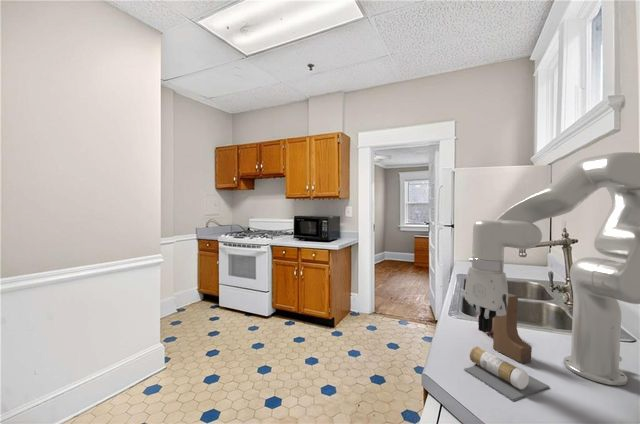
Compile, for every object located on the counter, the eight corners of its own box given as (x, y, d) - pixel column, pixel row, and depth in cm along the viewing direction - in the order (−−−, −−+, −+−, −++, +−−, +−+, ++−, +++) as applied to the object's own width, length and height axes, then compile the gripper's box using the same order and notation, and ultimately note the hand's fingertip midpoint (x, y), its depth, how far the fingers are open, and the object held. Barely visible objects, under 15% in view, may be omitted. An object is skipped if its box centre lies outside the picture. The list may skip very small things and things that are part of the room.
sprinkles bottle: (478, 361, 81) (528, 389, 69) (467, 361, 79) (516, 391, 67) (480, 345, 81) (531, 370, 69) (470, 345, 80) (519, 371, 67)
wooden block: (531, 361, 82) (534, 300, 82) (521, 364, 80) (523, 302, 80) (502, 346, 90) (504, 291, 90) (492, 348, 89) (494, 292, 89)
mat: (498, 360, 82) (498, 359, 82) (549, 387, 70) (549, 386, 70) (464, 370, 77) (464, 368, 77) (512, 401, 65) (512, 399, 65)
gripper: (455, 260, 83) (453, 322, 83) (504, 272, 69) (502, 345, 69) (473, 259, 86) (471, 319, 86) (524, 270, 72) (521, 340, 72)
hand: (485, 330), depth 78 cm, fingers closed
